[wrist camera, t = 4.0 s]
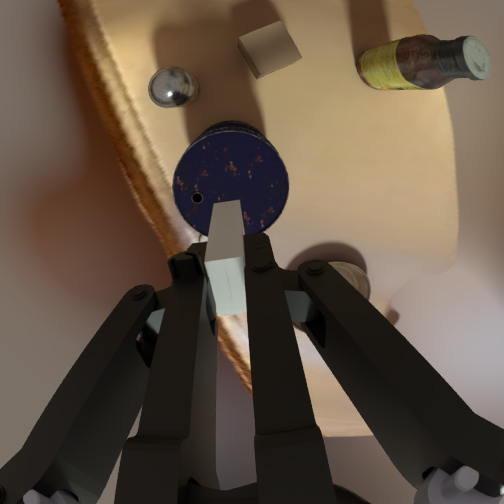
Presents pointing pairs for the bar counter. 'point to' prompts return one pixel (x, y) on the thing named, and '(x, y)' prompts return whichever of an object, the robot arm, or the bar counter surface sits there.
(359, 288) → the saucer
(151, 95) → the metal shaker
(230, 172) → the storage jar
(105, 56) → the bar counter surface
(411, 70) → the sauce bottle
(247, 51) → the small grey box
